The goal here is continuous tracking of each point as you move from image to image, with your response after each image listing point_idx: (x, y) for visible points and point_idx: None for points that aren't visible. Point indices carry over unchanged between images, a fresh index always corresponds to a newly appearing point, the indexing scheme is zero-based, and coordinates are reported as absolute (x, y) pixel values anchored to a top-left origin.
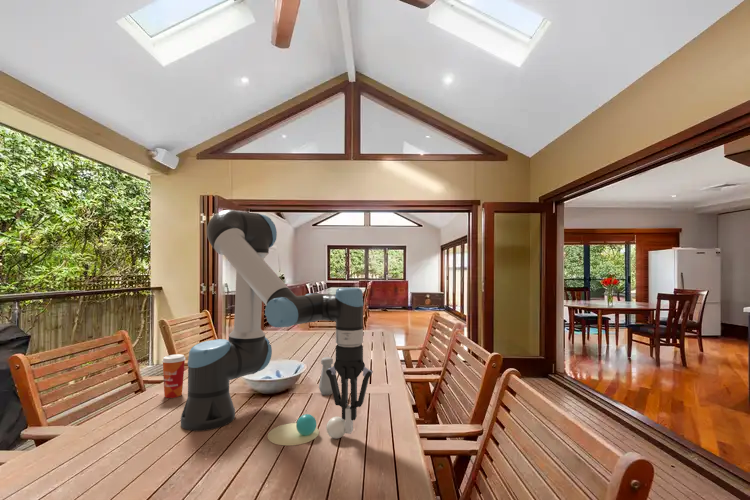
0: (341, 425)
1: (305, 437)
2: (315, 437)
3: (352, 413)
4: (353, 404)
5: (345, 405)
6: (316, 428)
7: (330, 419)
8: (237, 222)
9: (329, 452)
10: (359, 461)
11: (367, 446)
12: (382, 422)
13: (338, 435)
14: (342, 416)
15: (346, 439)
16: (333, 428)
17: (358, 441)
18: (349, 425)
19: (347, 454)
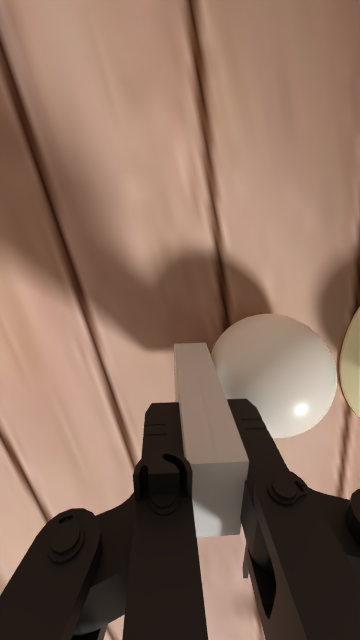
0: (239, 358)
1: None
2: (351, 324)
3: (171, 442)
4: (154, 531)
5: (261, 501)
6: (355, 404)
7: (331, 393)
8: None
9: (254, 181)
10: (50, 92)
11: (69, 289)
12: (81, 507)
13: (239, 320)
14: (253, 413)
15: (197, 339)
16: (285, 327)
17: (132, 331)
18: (184, 367)
19: (148, 175)
